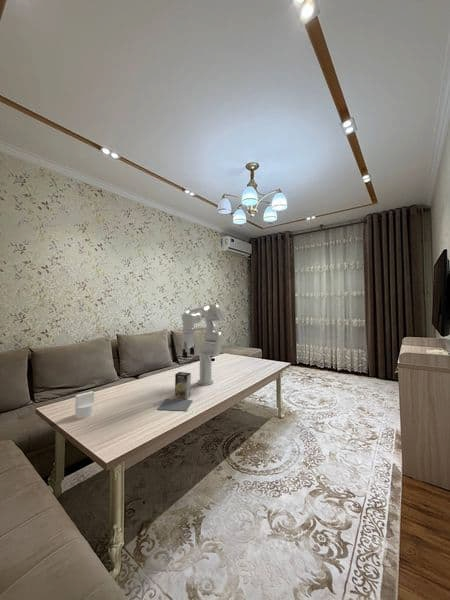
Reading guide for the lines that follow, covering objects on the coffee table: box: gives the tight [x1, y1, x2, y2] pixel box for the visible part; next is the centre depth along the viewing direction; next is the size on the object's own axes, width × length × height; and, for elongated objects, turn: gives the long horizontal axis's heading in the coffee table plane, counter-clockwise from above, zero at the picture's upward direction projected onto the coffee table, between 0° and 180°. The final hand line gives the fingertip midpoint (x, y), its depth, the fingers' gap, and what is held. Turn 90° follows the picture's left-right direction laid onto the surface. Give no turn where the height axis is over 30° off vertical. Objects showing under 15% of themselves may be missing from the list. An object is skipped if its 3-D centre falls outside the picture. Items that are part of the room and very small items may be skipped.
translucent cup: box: [74, 390, 95, 419], centre depth 139 cm, size 9×9×12 cm
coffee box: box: [174, 371, 192, 400], centre depth 167 cm, size 9×6×16 cm
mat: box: [156, 398, 193, 412], centre depth 154 cm, size 16×18×1 cm
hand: (188, 356), depth 170 cm, fingers open, 9 cm apart
